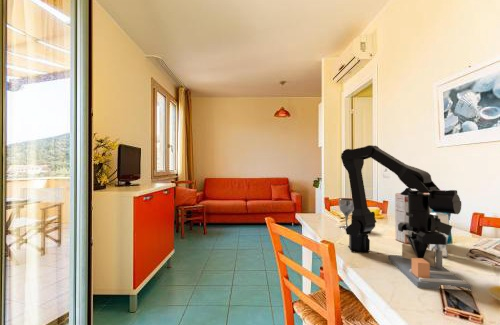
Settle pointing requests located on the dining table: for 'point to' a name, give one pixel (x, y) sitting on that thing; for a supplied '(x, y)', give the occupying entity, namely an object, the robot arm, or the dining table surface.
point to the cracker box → (402, 215)
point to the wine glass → (346, 208)
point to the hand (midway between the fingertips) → (420, 260)
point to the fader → (420, 268)
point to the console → (437, 273)
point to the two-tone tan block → (409, 254)
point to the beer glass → (445, 220)
